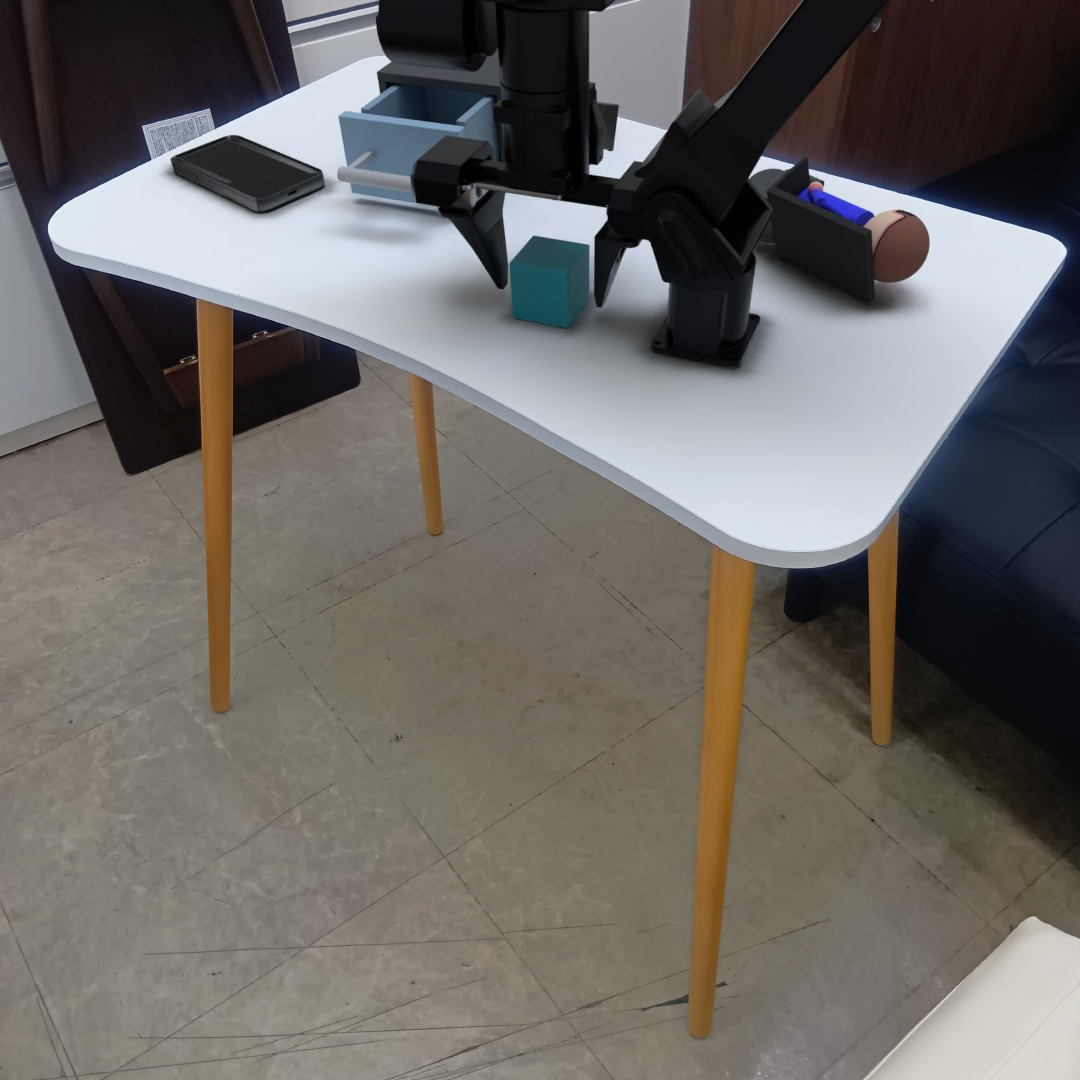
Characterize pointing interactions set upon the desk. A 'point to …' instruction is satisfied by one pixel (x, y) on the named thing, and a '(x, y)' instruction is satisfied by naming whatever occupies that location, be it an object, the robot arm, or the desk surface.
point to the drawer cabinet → (447, 80)
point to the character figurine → (838, 234)
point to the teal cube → (550, 281)
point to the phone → (248, 172)
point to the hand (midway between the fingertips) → (551, 295)
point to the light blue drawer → (409, 134)
